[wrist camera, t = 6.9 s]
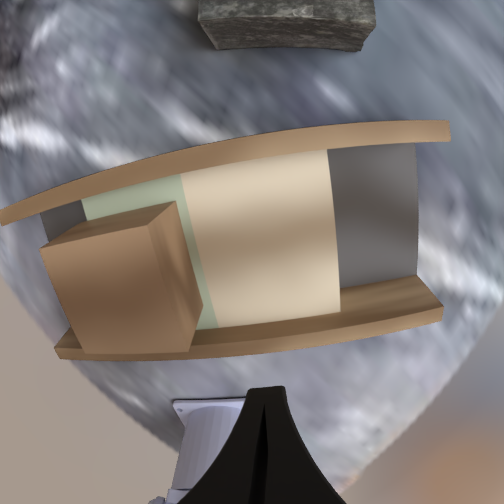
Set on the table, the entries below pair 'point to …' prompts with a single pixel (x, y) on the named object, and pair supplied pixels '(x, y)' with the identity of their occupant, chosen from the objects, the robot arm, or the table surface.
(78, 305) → the walnut block
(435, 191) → the table surface
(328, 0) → the stone block
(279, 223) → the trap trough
